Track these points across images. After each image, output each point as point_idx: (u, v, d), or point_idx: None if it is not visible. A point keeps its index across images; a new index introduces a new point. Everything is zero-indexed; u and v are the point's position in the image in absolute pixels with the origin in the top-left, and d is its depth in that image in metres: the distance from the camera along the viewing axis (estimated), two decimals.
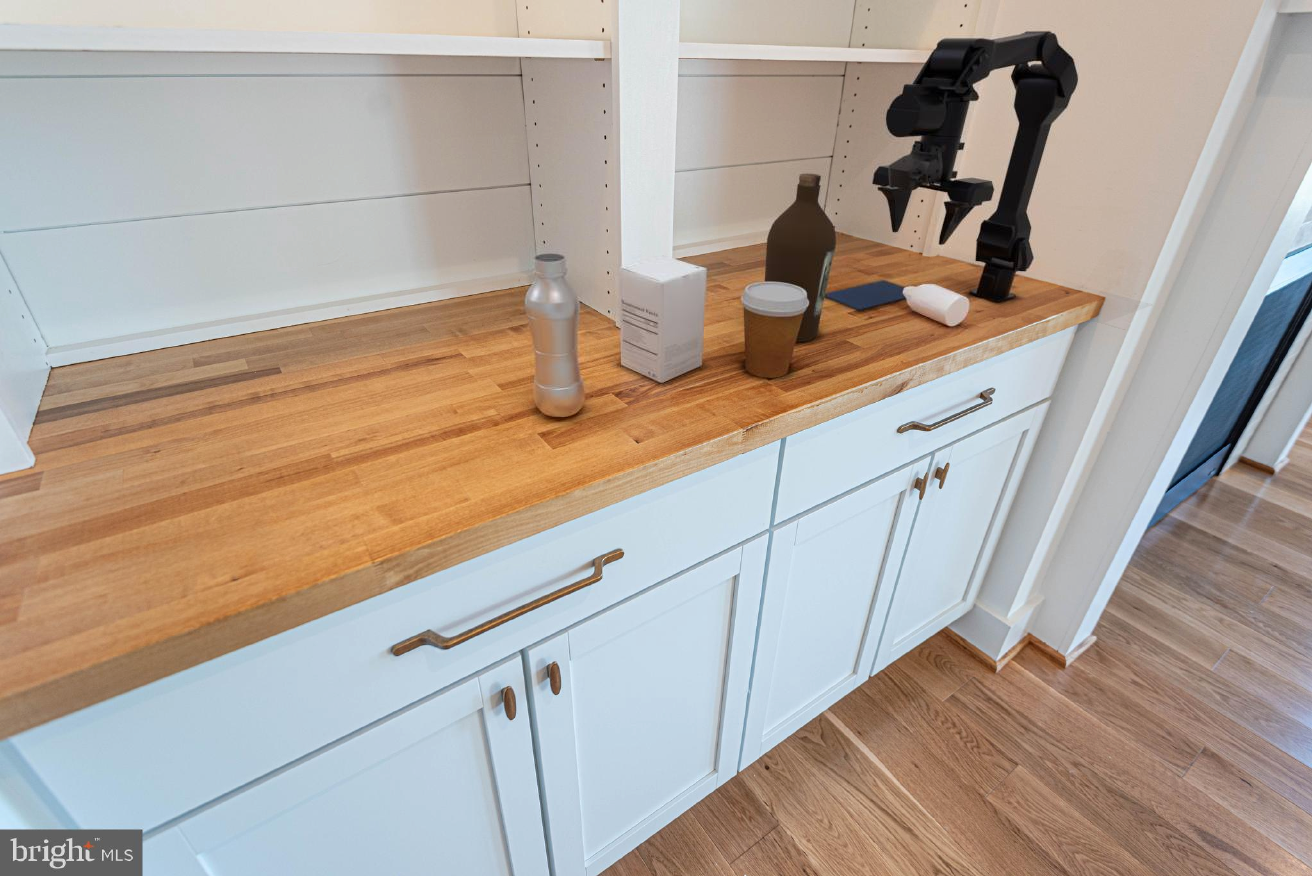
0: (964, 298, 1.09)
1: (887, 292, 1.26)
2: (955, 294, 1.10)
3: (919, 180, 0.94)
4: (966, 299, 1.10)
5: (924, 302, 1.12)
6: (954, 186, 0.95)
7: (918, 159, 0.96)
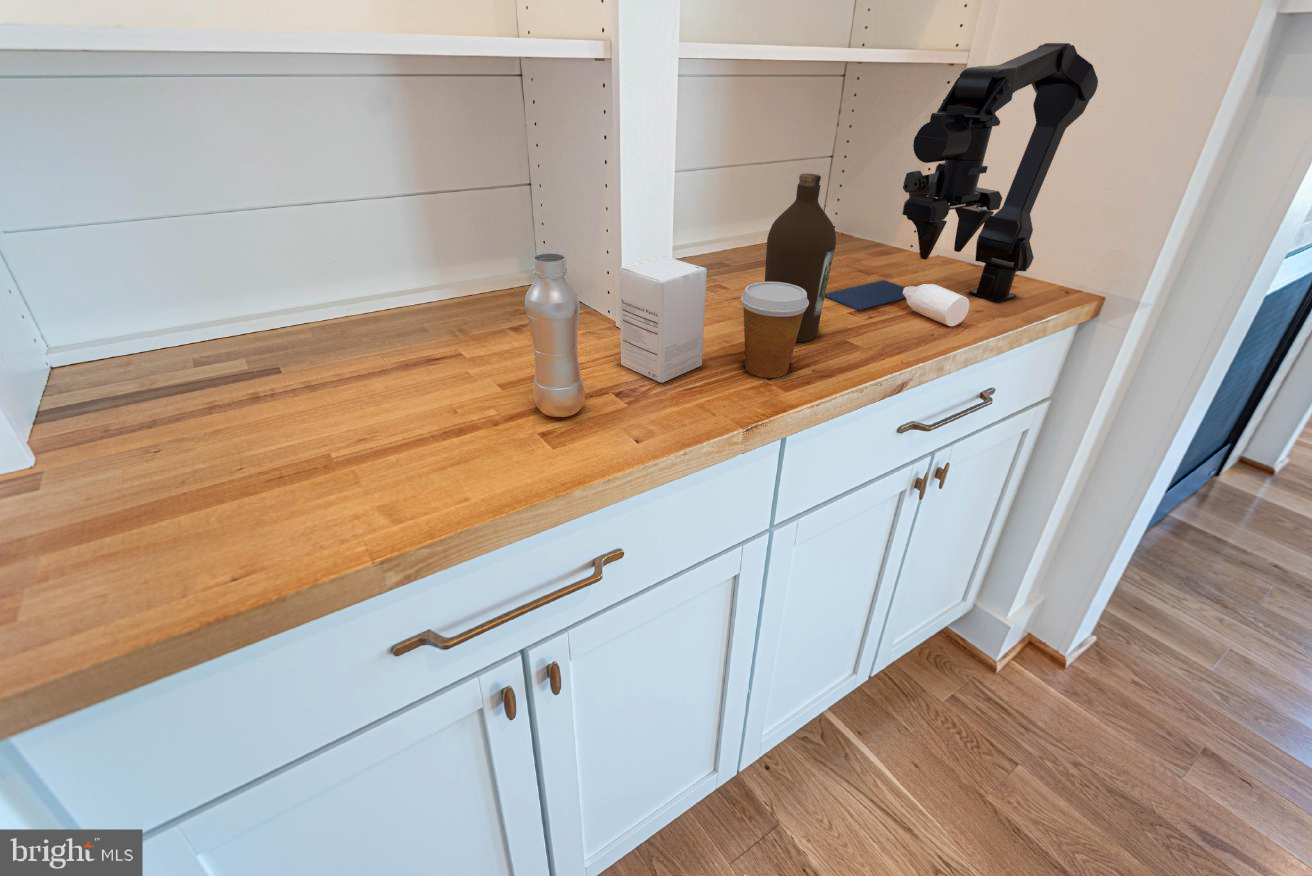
0: (964, 298, 1.09)
1: (887, 292, 1.26)
2: (955, 294, 1.10)
3: None
4: (966, 299, 1.10)
5: (924, 302, 1.12)
6: None
7: None
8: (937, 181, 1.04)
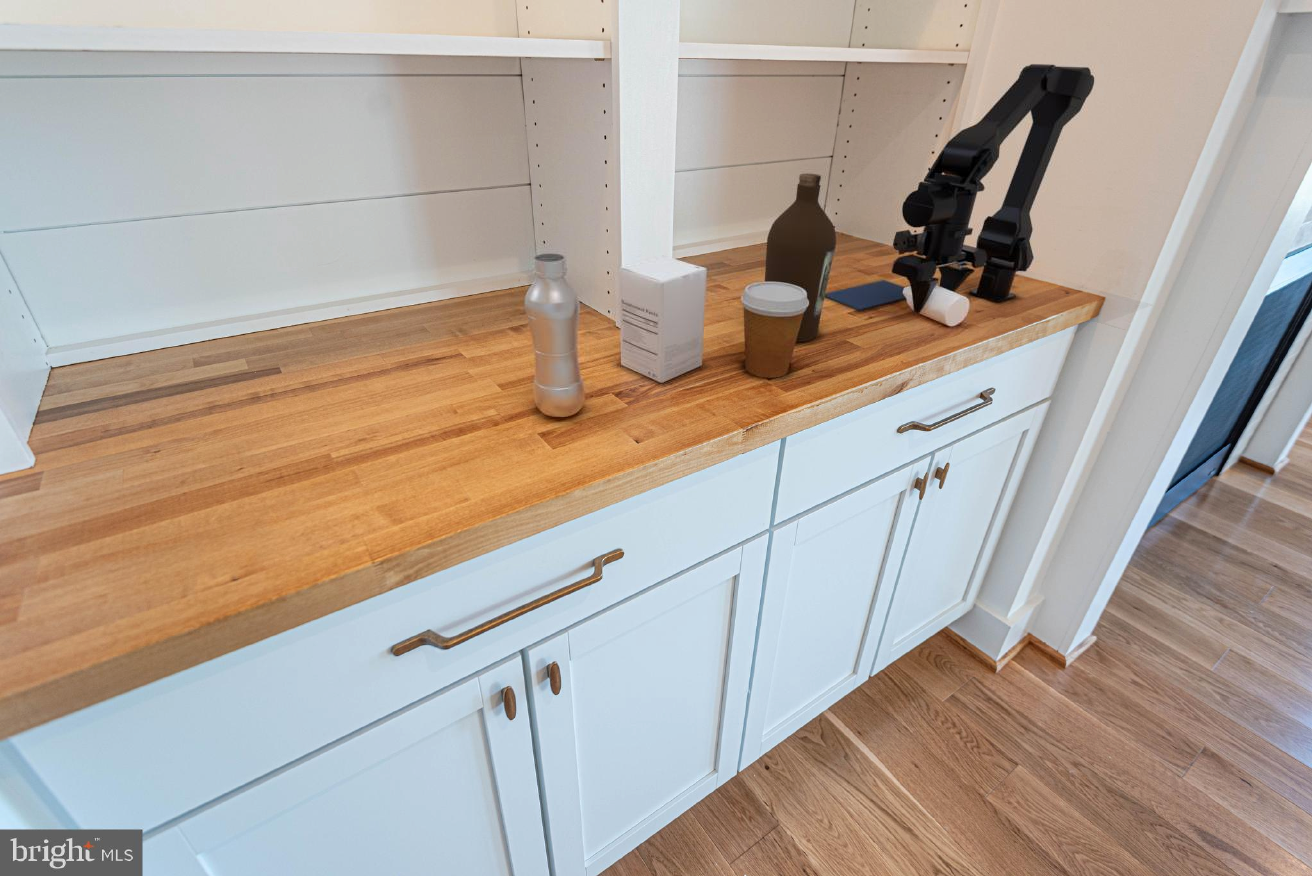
0: (964, 298, 1.09)
1: (887, 292, 1.26)
2: (955, 294, 1.10)
3: None
4: (966, 299, 1.10)
5: None
6: None
7: None
8: (925, 241, 1.10)
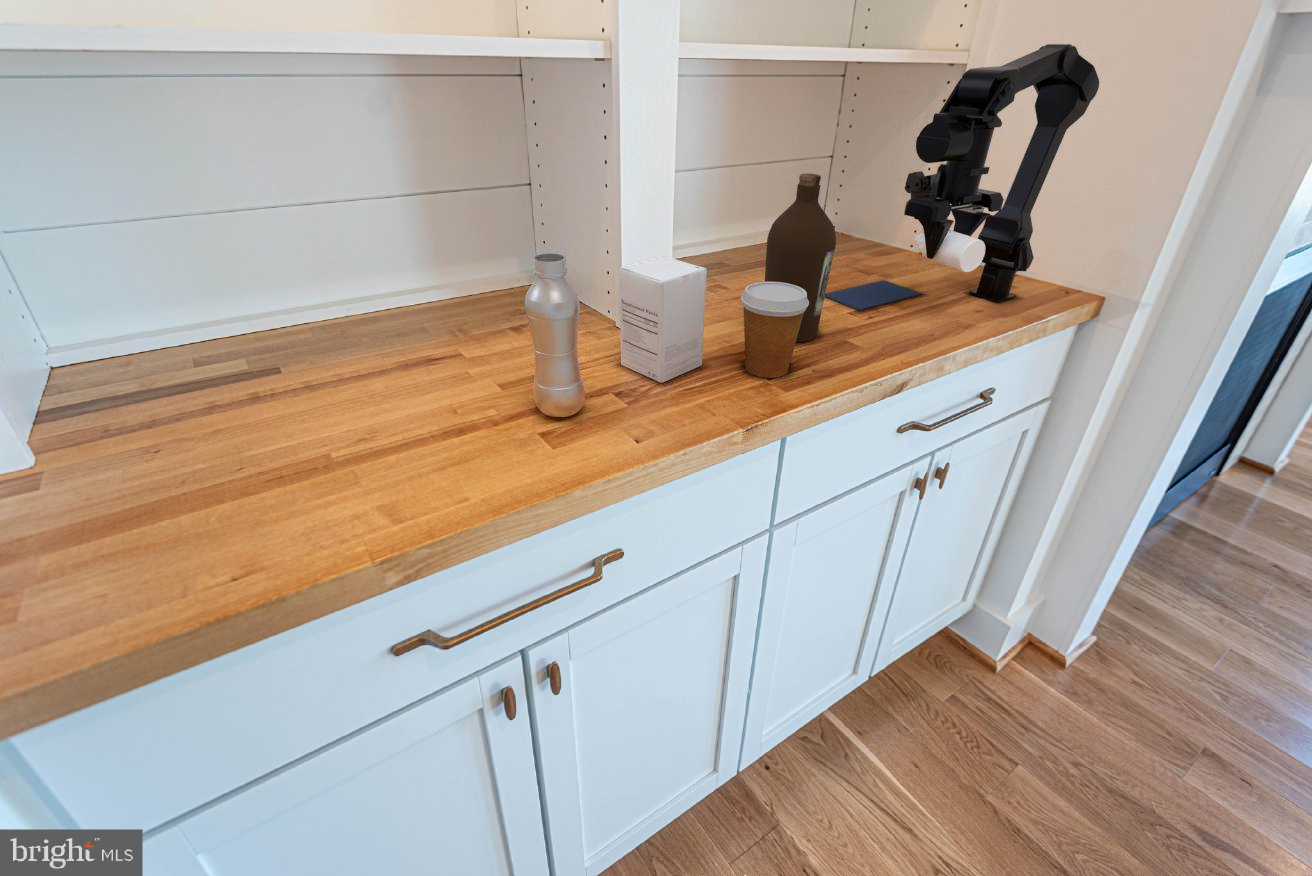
0: (980, 242, 1.04)
1: (887, 292, 1.26)
2: (970, 237, 1.05)
3: None
4: (982, 243, 1.05)
5: None
6: None
7: None
8: (939, 182, 1.05)
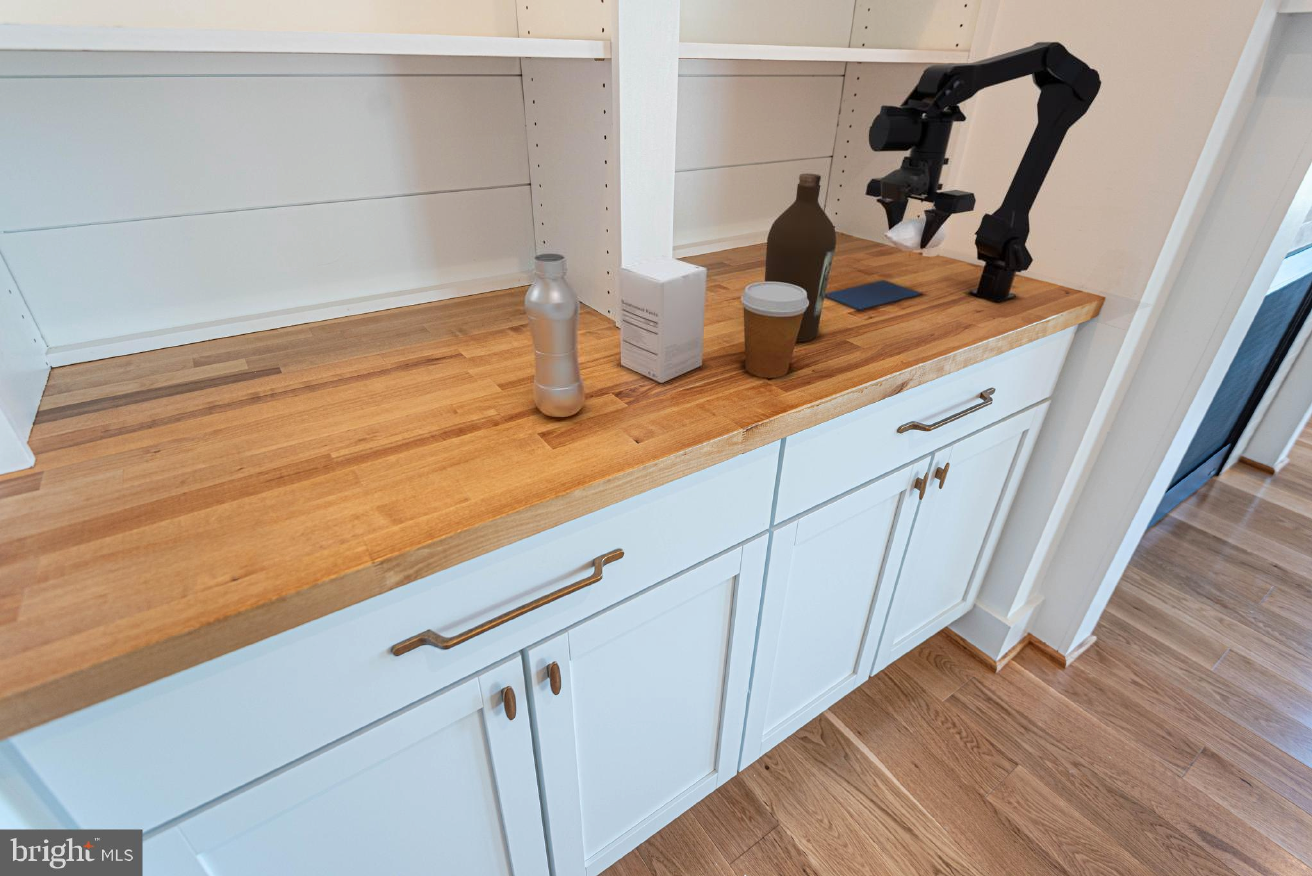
0: None
1: (887, 292, 1.26)
2: None
3: (908, 192, 1.04)
4: None
5: None
6: (940, 198, 1.05)
7: (907, 173, 1.06)
8: None
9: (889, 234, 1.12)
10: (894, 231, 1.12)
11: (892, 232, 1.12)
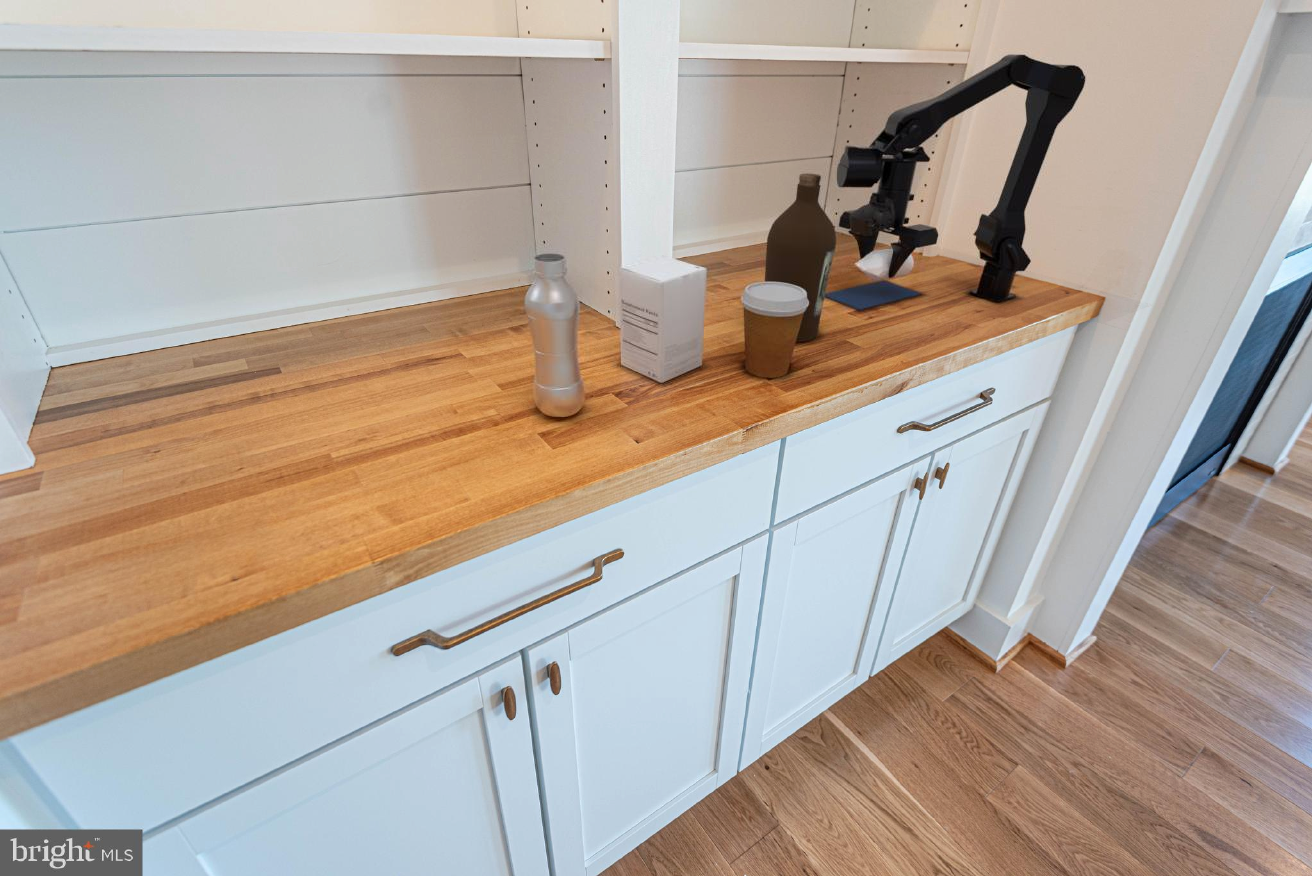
0: None
1: (887, 292, 1.26)
2: None
3: (874, 228, 1.12)
4: None
5: None
6: (904, 232, 1.12)
7: (874, 209, 1.14)
8: None
9: (859, 264, 1.19)
10: (864, 261, 1.19)
11: (862, 262, 1.19)
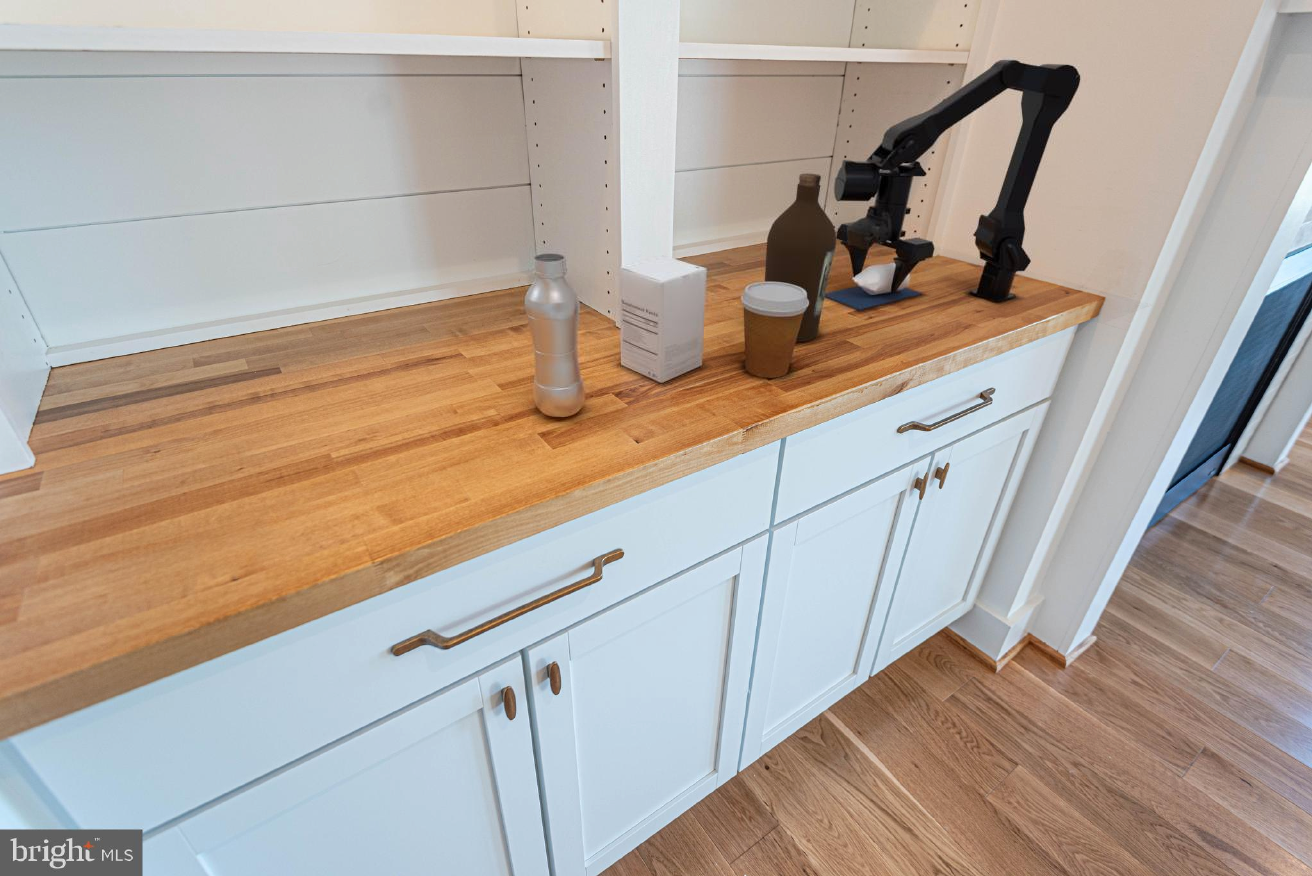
0: None
1: None
2: None
3: (871, 241, 1.13)
4: None
5: None
6: (901, 246, 1.13)
7: (871, 222, 1.15)
8: (890, 226, 1.15)
9: (856, 279, 1.21)
10: (861, 277, 1.21)
11: (859, 278, 1.21)
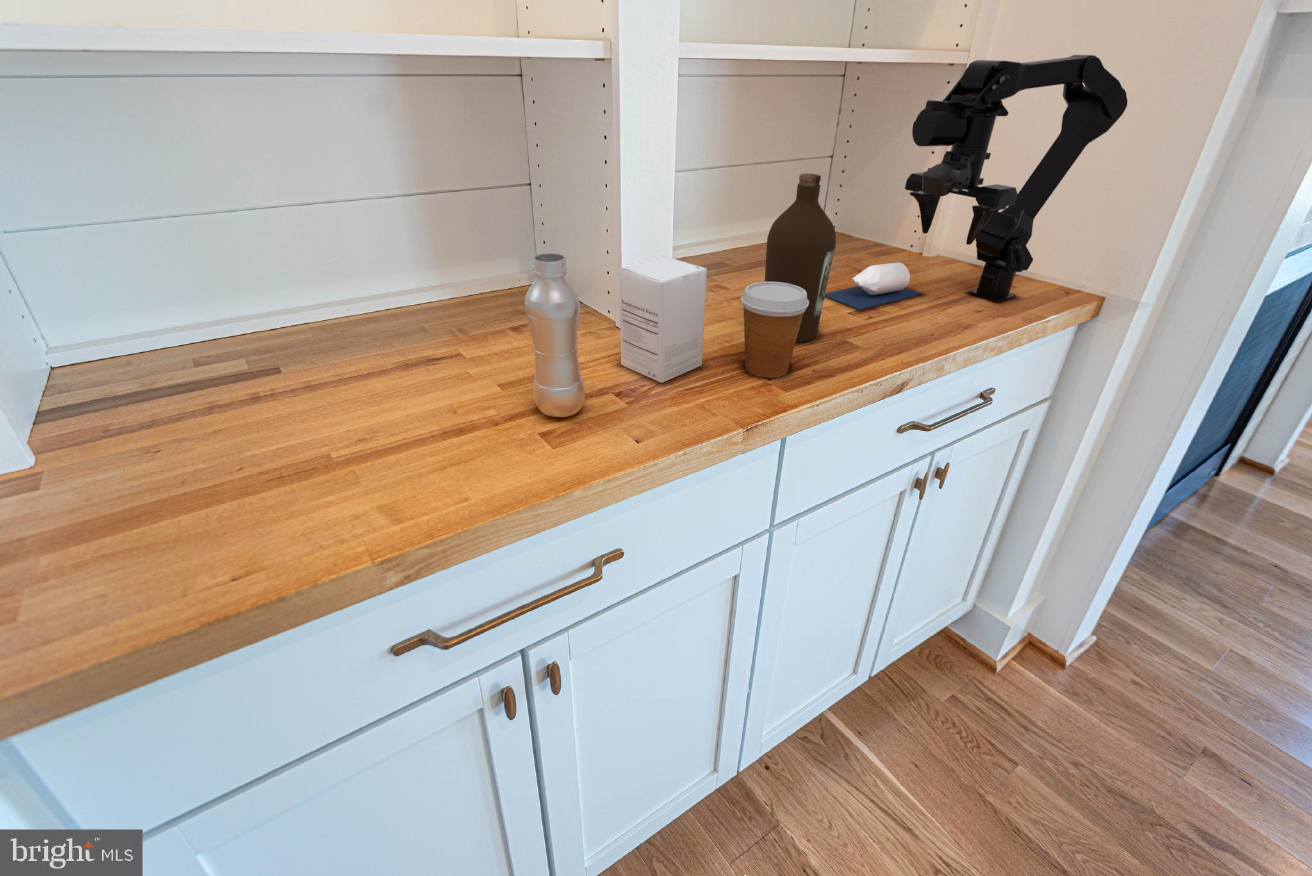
0: None
1: None
2: (897, 263, 1.24)
3: (951, 187, 1.05)
4: None
5: (892, 281, 1.22)
6: (982, 192, 1.06)
7: (949, 168, 1.07)
8: None
9: (856, 279, 1.21)
10: (861, 277, 1.21)
11: (859, 278, 1.21)
